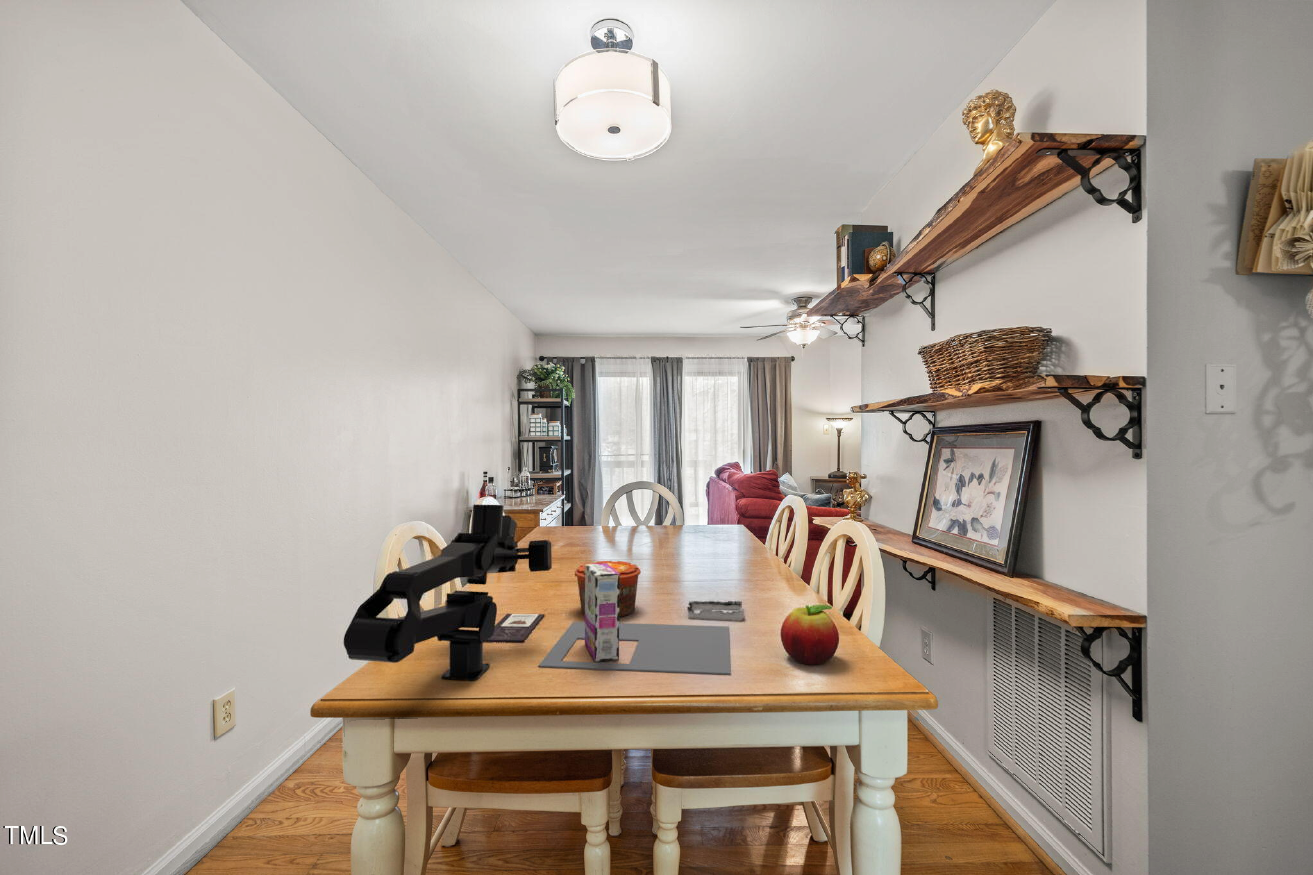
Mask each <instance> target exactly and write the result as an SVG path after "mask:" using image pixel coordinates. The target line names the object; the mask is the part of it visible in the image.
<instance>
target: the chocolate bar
mask: <svg viewBox="0 0 1313 875" xmlns="http://www.w3.org/2000/svg"><path fill="white" fill-rule="evenodd" d="M545 615H546V614H545V613H507V614H506V615H504V616H503V617H502V618H501V619H500V620H499V621H498V622H497V623H495V628H494V635H493V636H492V637H491V638H489V639H488V640H487V641H485V642H484V643H493V642H496V644H497V642H498V643H499V642H500V644H501V643H502V642H503V644H505V643H507V644H509V643H512V644H513V643H514V644H515V643H516V644H518V643H519V644H524V643H525V642H526V641H527V639H528V638H529V637H530V636H531V635H532V634H533V632H534V631H535V630H536V628H537V627H538V626H537V625H539V624H541V623H540V621H541V622H542V620H543V619H544V618H545ZM536 626H537V627H536ZM533 630H534V631H533ZM532 631H533V632H532ZM529 635H530V636H529ZM525 640H526V641H525ZM504 642H505V643H504Z"/></svg>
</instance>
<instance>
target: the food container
mask: <svg viewBox="0 0 1313 875" xmlns="http://www.w3.org/2000/svg"><path fill="white" fill-rule="evenodd" d="M598 563H607V564H608V565H609V566H611V567H612V568H613V569H614V570H615V571H616V572H618V573H619V574H620V579H619V580H620V585H619V618H623V617H626V616H629V615H631V614H632V613H634V612H635V610H636V599H637V591H638V582H639V576H640V574H642V573H641V568H640V567H639V566H638V565H637V564H633V563H632V564H631V562H629V561H620V560H618V561H617V560H616V561H613V560H598V561H596V562H586V563H583V564H580V566H578V567H577V568H576V569H575V570H574V576H575V577H576V579H577V580H576V581H577V587H578V593H579V595H578V596H579V602H580V603H579V604H580V608H581V614H582V615H584V616H585V565H586V564H598Z"/></svg>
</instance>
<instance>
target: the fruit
mask: <svg viewBox="0 0 1313 875" xmlns="http://www.w3.org/2000/svg"><path fill="white" fill-rule="evenodd" d="M832 609H833V606H832V605H828V604H813V605H809V604H806V605H805V607H796V608H794V609H793V610H791V611H790V612H788V614H787V615H786V617H785V618H784V620H783V622H782V624H781V628H780V639H781V640H780V641H781V645H782V648H783V649H784V650H785V652H786V654H787V655H788V656H790V658H791V659H793V660H794V661H795V662H797V663H799V664H802V665H803V664H804V665H809V666H810V665H815V666H816V665H822V664H825V663H826V662H828V661H830V660H831V658H833V657H834V655H835V654H836V652H837V650H838V646H839V643H840V635H839V634H840V633H839V630H838V628H837V625H836V624H835V622H834V621H833V619H832V618H831V616H829V614H828V613H827V612H826V611H827V610H832ZM824 610H826V611H824Z"/></svg>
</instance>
